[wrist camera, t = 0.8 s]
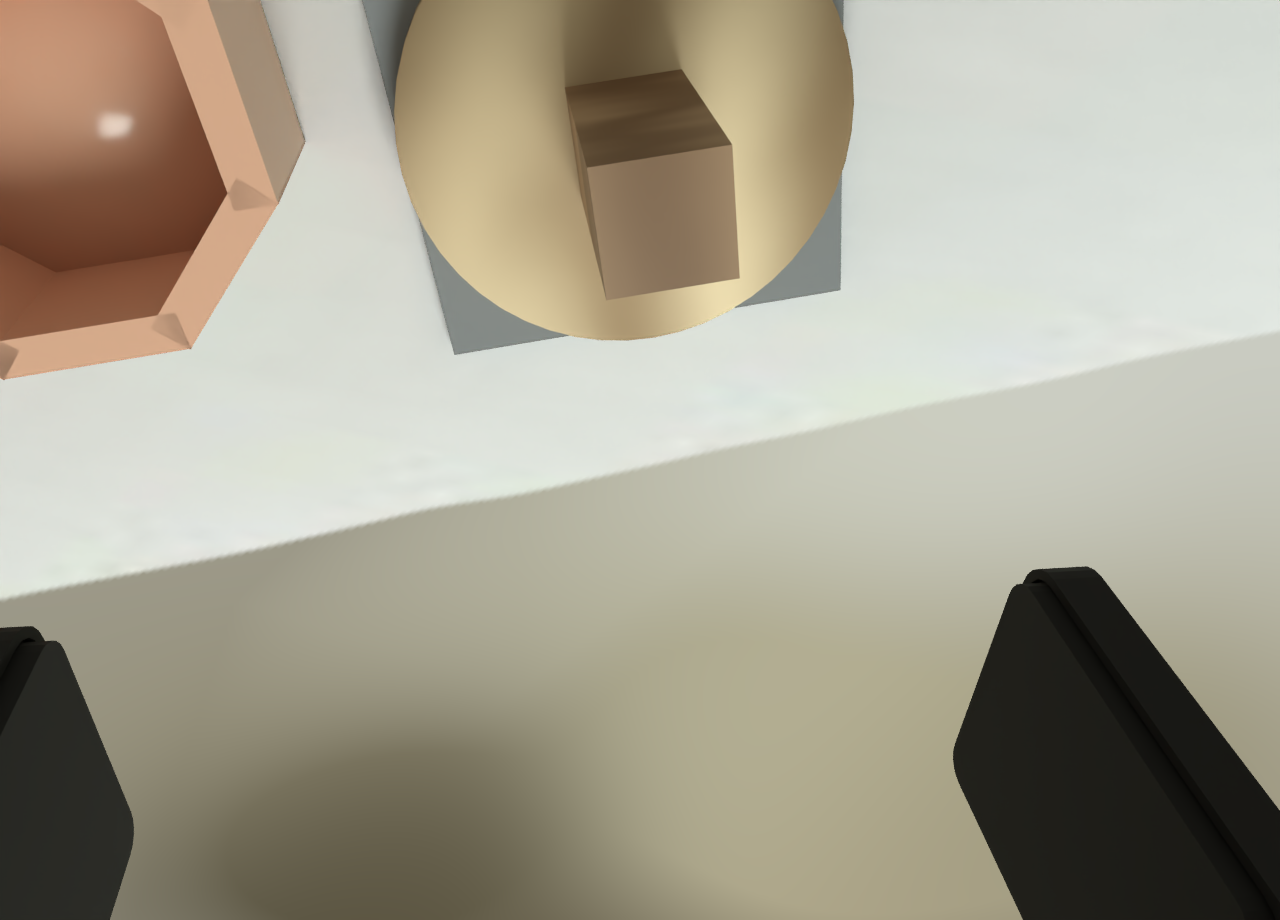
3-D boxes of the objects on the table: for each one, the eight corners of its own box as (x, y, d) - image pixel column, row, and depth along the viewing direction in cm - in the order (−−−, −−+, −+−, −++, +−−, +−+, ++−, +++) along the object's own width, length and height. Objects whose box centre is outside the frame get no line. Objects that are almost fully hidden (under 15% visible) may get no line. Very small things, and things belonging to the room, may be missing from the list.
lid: (845, -168, 23) (965, -145, 17) (840, 290, 30) (924, 411, 25) (338, -95, 23) (293, -46, 17) (454, 354, 30) (449, 494, 24)
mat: (837, -170, 24) (845, -169, 23) (834, 281, 31) (840, 290, 30) (340, -98, 23) (338, -94, 23) (454, 345, 30) (454, 355, 30)
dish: (194, -212, 21) (137, -206, 18) (341, 254, 28) (321, 327, 24) (-325, -139, 21) (-492, -118, 17) (-52, 317, 27) (-131, 402, 24)
